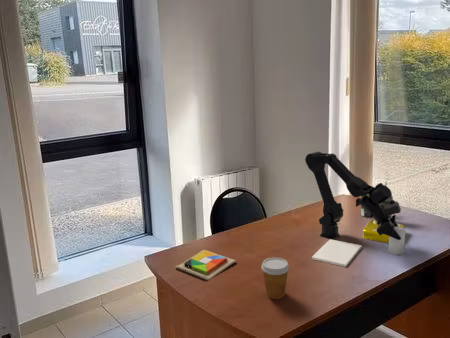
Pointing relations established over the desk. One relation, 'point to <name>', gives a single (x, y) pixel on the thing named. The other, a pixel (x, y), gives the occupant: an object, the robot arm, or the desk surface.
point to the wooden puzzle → (206, 264)
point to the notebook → (337, 252)
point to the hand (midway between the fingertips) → (400, 236)
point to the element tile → (375, 232)
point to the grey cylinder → (397, 242)
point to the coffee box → (364, 211)
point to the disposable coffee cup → (275, 277)
